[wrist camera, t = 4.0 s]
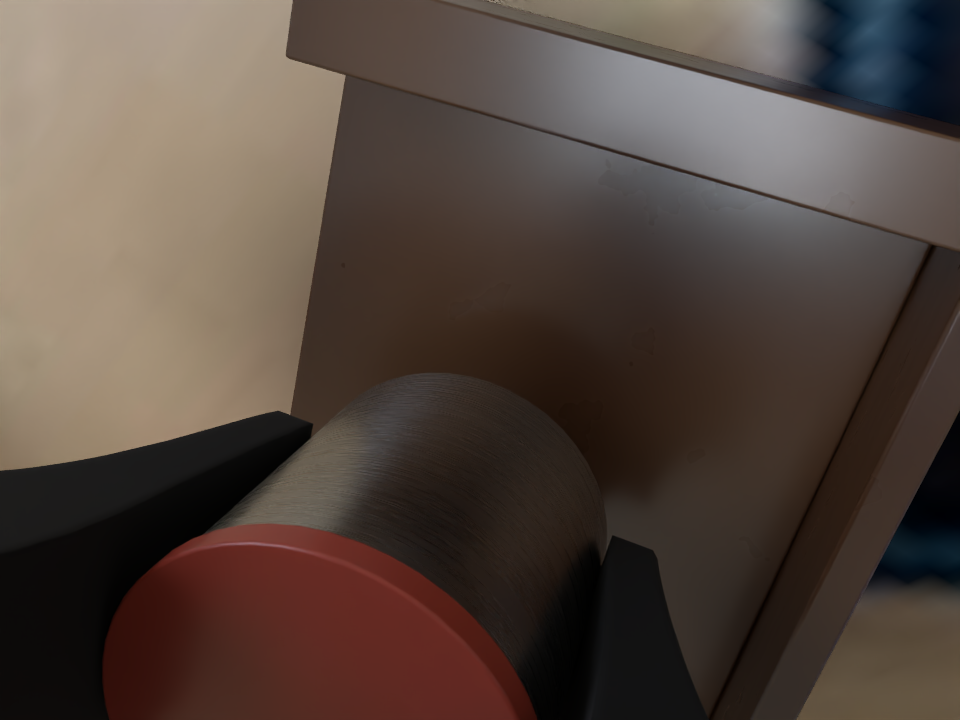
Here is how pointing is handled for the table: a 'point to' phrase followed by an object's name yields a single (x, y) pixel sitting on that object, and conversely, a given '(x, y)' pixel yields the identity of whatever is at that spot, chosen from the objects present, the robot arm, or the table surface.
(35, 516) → the robot arm
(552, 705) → the cylinder
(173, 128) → the table surface
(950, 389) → the desk shelf
